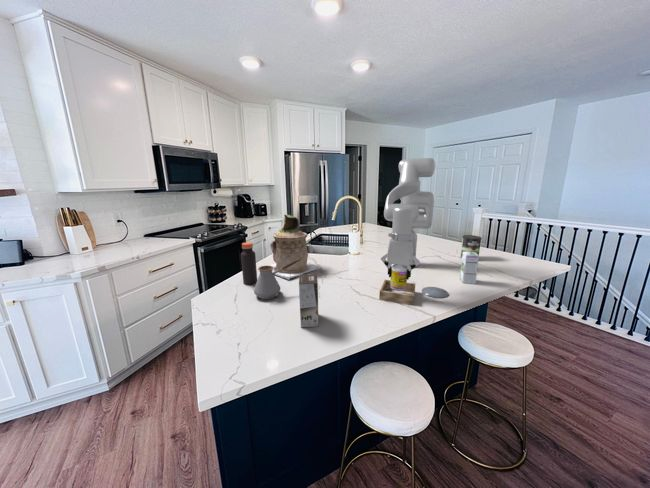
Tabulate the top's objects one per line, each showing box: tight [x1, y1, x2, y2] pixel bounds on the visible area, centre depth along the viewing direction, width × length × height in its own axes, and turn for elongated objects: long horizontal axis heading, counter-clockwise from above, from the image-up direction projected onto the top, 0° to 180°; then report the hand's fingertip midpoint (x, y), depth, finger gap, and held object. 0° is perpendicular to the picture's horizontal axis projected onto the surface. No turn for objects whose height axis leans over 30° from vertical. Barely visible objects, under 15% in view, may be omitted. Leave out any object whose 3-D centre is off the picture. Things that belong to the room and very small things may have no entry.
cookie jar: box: [268, 213, 321, 281], centre depth 142 cm, size 25×25×32 cm
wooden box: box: [378, 279, 416, 306], centre depth 111 cm, size 13×13×4 cm
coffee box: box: [298, 273, 319, 328], centre depth 91 cm, size 9×6×16 cm
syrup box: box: [459, 252, 480, 285], centre depth 125 cm, size 6×6×14 cm
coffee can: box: [459, 234, 482, 260], centre depth 161 cm, size 10×10×14 cm
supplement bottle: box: [390, 264, 408, 292], centre depth 110 cm, size 7×7×13 cm
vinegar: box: [240, 241, 258, 286], centre depth 126 cm, size 7×7×20 cm
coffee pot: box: [253, 260, 301, 300], centre depth 113 cm, size 21×12×15 cm, turn 109°
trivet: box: [421, 286, 450, 299], centre depth 114 cm, size 11×11×1 cm
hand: (398, 277), depth 110 cm, fingers closed on supplement bottle, 6 cm apart
